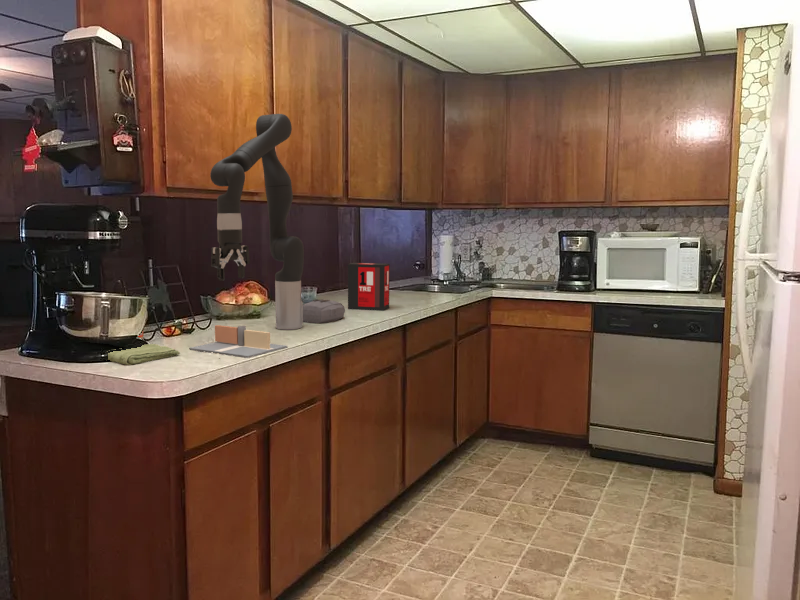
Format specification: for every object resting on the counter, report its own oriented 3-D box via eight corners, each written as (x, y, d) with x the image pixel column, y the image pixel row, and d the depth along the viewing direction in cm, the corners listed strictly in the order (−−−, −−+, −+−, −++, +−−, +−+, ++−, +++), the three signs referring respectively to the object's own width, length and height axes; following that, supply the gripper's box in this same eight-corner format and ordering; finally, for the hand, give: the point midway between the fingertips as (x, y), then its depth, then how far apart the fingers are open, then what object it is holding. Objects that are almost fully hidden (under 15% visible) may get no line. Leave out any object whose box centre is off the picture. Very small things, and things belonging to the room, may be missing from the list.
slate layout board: (230, 340, 213) (230, 320, 212) (287, 347, 203) (287, 326, 202) (189, 349, 198) (188, 328, 197) (248, 357, 187) (247, 335, 186)
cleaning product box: (389, 308, 294) (389, 263, 292) (384, 310, 285) (384, 265, 283) (354, 306, 298) (354, 262, 295) (347, 309, 289) (347, 264, 287)
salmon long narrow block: (239, 343, 203) (239, 327, 202) (237, 344, 202) (236, 328, 201) (217, 340, 207) (217, 325, 207) (215, 341, 206) (214, 325, 206)
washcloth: (182, 356, 190) (182, 345, 189) (128, 367, 175) (127, 356, 175) (153, 351, 197) (153, 340, 196) (99, 361, 182) (98, 350, 182)
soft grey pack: (324, 325, 247) (352, 318, 264) (324, 303, 246) (352, 297, 263) (292, 321, 254) (321, 315, 271) (291, 300, 253) (321, 295, 270)
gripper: (237, 227, 214) (239, 276, 216) (203, 228, 202) (206, 280, 204) (254, 227, 210) (256, 277, 212) (221, 228, 198) (223, 282, 200)
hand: (231, 279), depth 208 cm, fingers open, 8 cm apart
